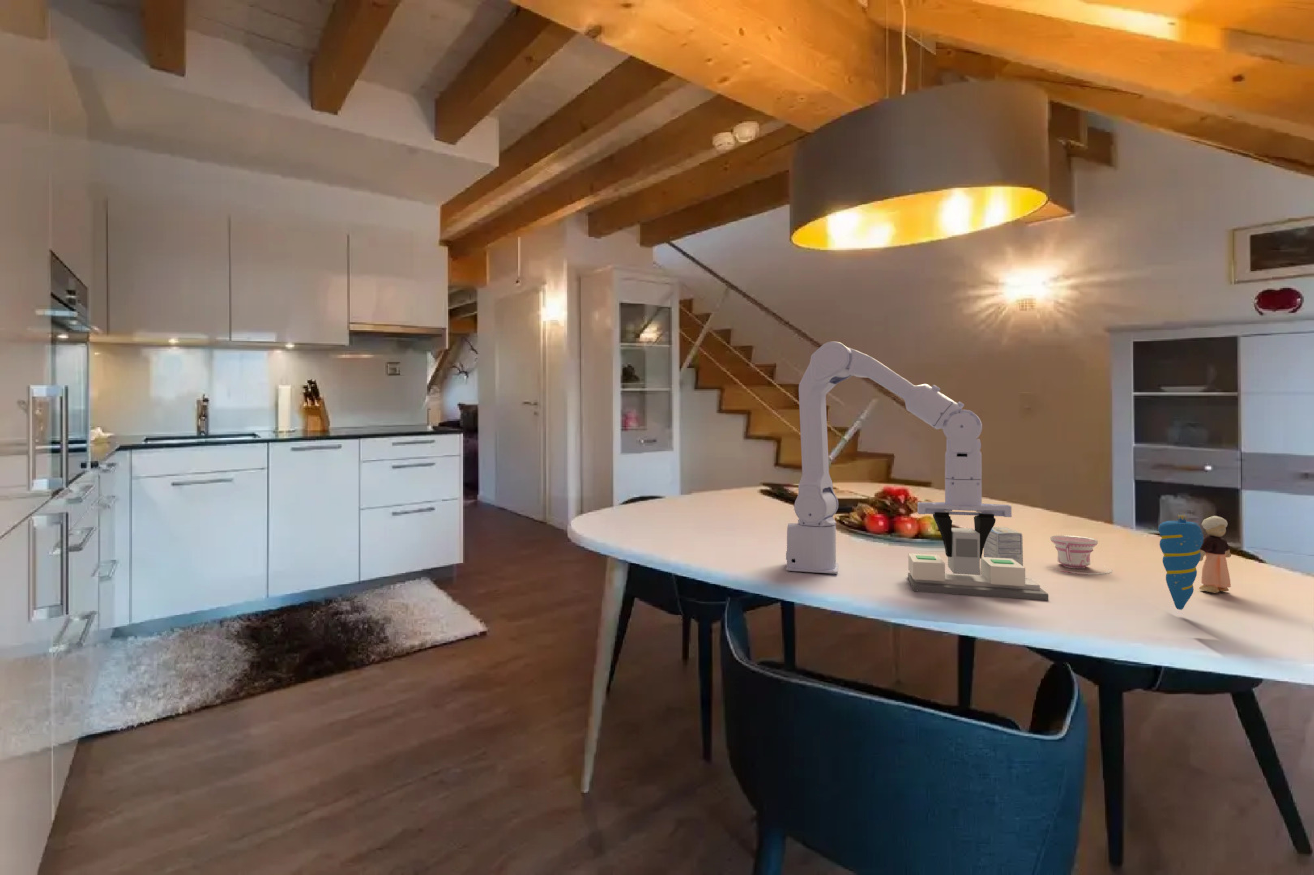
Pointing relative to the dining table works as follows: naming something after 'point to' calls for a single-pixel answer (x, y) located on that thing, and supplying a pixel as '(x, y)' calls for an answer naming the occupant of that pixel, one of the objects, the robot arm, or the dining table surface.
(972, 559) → the loose module
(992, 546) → the medicine box
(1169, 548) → the ornament
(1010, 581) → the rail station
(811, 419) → the robot arm
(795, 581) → the dining table surface
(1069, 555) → the teacup
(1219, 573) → the grandmother figurine
